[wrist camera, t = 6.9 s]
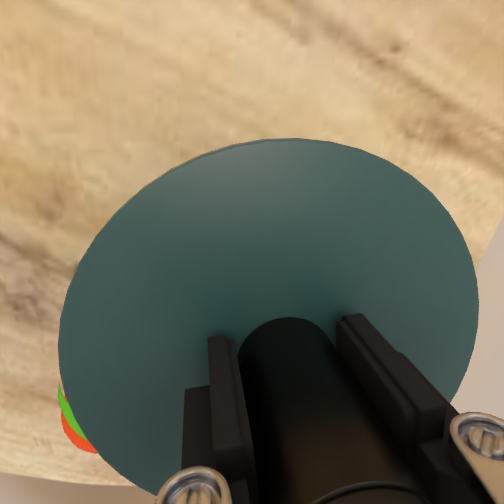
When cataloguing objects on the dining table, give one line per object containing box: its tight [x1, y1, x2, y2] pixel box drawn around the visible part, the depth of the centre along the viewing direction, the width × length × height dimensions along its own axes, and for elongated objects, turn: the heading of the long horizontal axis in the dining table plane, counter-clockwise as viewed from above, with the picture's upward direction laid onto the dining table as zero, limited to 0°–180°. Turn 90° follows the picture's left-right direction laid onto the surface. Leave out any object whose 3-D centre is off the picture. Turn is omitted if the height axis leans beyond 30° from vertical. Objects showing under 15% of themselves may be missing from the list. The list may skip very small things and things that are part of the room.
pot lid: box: [58, 138, 479, 504], centre depth 9 cm, size 13×13×7 cm
